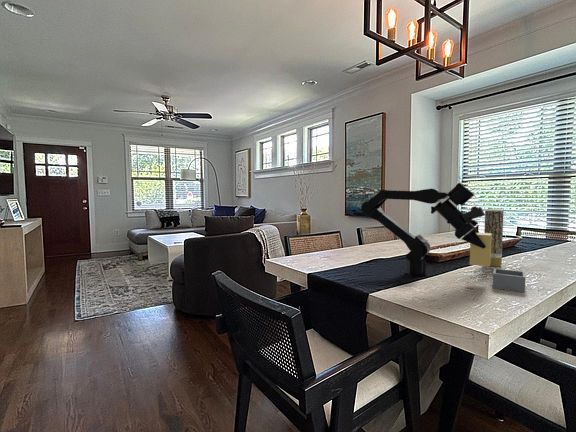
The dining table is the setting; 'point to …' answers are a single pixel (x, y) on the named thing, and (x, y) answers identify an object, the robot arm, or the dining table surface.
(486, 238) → the ochre block
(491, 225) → the bark textured cylinder
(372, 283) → the dining table surface
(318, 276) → the dining table surface
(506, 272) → the sleeve
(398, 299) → the dining table surface
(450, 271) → the dining table surface
